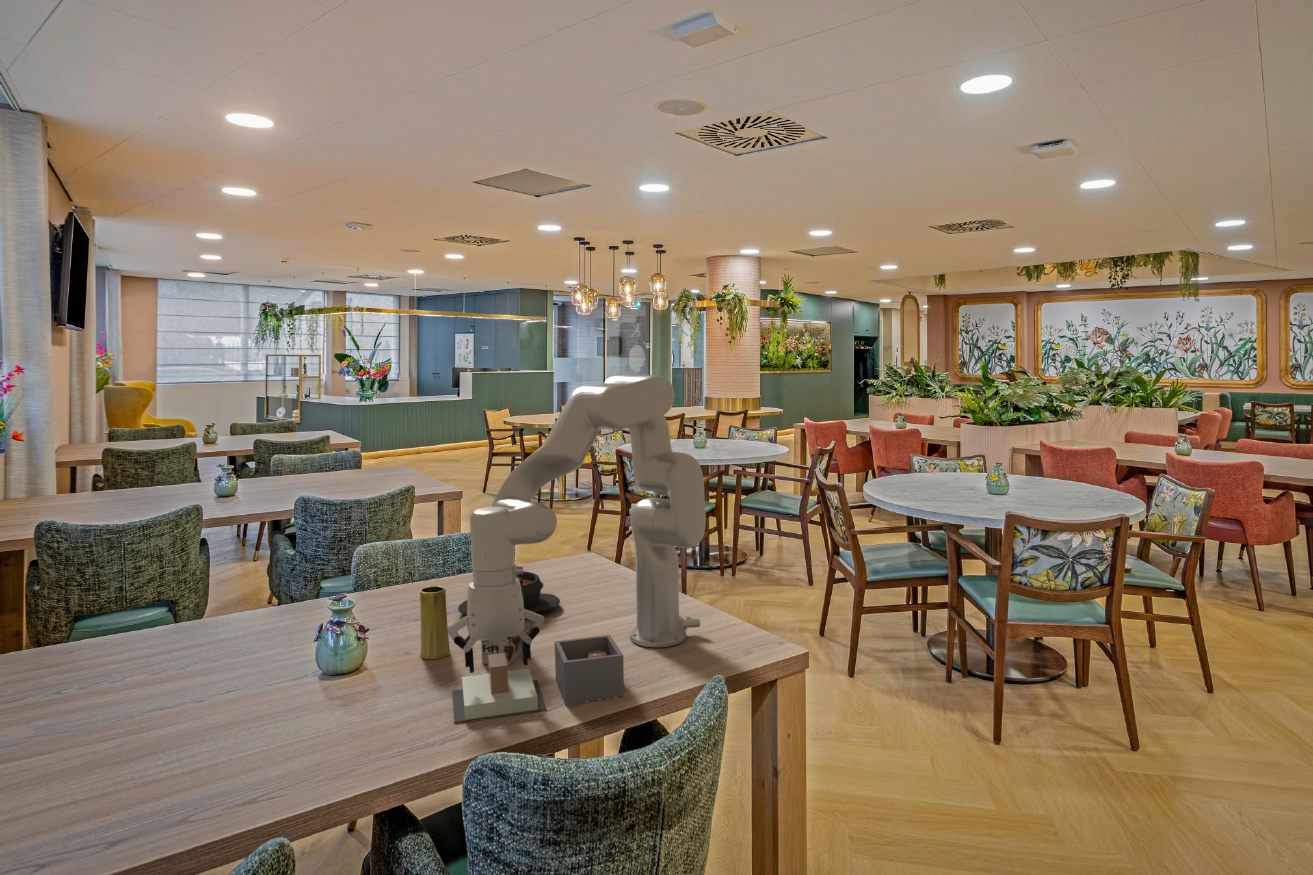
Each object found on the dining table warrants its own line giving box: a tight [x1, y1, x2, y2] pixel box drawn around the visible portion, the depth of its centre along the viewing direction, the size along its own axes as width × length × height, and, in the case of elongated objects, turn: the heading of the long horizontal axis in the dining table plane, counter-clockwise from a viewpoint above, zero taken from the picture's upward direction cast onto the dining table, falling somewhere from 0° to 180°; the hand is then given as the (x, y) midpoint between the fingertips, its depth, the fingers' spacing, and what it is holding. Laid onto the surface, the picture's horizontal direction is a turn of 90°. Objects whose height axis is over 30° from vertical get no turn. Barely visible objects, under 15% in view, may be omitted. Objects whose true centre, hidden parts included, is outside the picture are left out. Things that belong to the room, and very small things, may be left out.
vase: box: [419, 585, 451, 660], centre depth 162 cm, size 6×6×14 cm
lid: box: [461, 653, 538, 720], centre depth 139 cm, size 13×13×8 cm
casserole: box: [457, 570, 561, 616], centre depth 189 cm, size 25×19×8 cm
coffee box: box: [480, 577, 524, 667], centre depth 160 cm, size 9×6×16 cm
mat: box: [452, 679, 547, 724], centre depth 140 cm, size 16×13×1 cm
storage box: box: [554, 634, 625, 706], centre depth 144 cm, size 11×11×8 cm
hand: (498, 666), depth 139 cm, fingers open, 9 cm apart
